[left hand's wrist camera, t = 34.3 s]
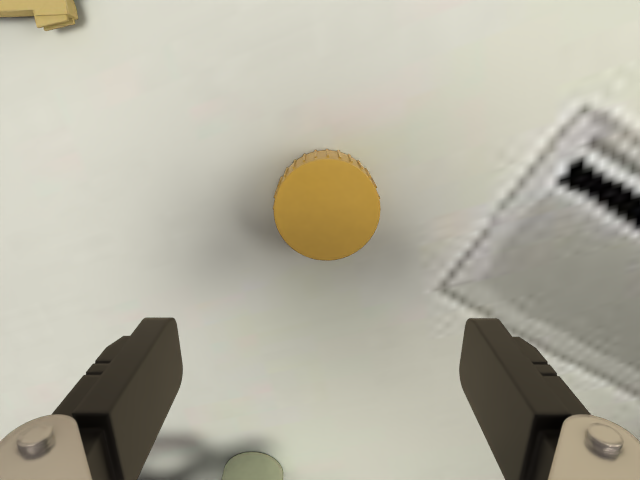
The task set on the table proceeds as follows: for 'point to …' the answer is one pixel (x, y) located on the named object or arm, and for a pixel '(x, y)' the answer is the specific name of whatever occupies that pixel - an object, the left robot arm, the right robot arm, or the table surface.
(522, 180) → the table surface
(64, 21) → the toy gun
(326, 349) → the table surface
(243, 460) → the jar
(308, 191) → the lid
